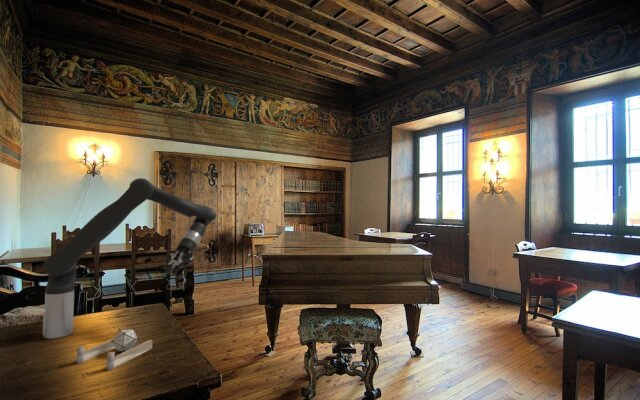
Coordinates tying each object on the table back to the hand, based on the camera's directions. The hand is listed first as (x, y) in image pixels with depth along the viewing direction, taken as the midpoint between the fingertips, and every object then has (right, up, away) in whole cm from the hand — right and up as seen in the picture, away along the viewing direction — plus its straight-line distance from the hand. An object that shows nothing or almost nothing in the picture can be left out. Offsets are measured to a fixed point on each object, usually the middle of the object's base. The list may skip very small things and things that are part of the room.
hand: (169, 273), depth 138 cm
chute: (-7, -23, -23) cm, 34 cm away
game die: (-7, -24, -21) cm, 32 cm away
